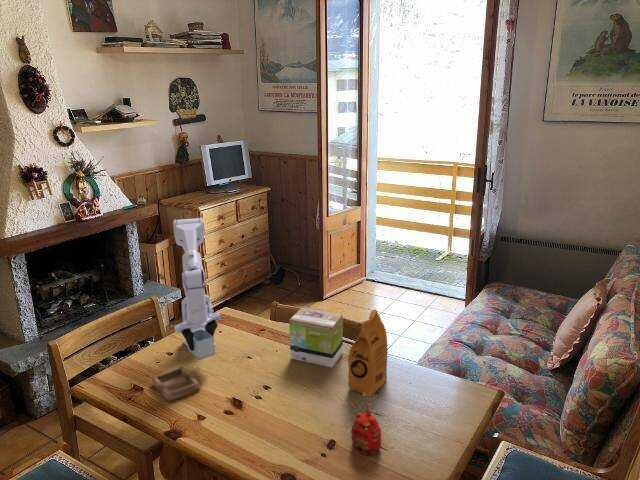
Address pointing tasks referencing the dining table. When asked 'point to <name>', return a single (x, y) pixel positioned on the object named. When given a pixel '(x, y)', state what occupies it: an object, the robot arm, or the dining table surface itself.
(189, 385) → the shallow brown tray
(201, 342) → the small crate
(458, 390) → the dining table surface
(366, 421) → the red clay folk toy
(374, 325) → the coffee package
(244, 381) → the dining table surface
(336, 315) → the tea box
